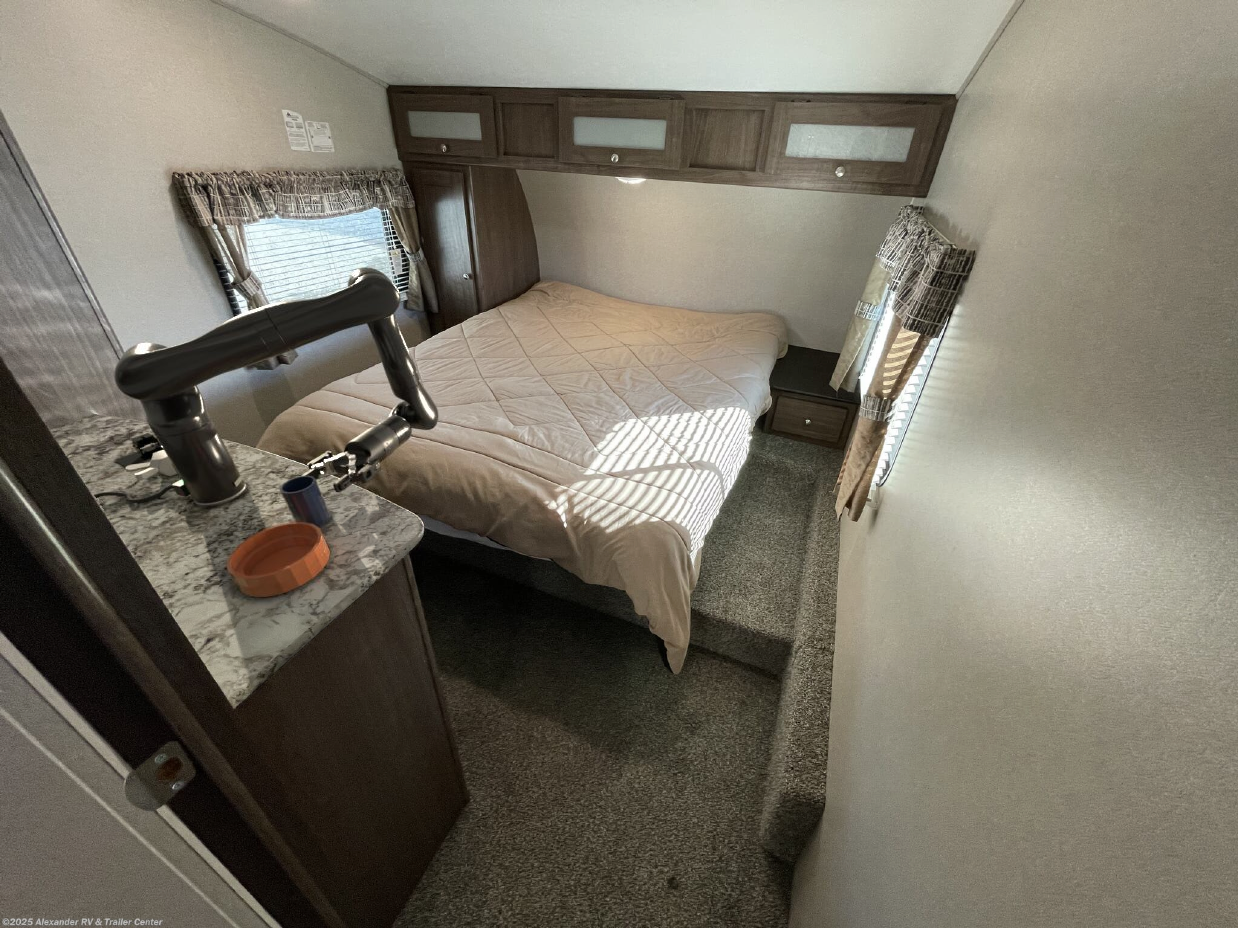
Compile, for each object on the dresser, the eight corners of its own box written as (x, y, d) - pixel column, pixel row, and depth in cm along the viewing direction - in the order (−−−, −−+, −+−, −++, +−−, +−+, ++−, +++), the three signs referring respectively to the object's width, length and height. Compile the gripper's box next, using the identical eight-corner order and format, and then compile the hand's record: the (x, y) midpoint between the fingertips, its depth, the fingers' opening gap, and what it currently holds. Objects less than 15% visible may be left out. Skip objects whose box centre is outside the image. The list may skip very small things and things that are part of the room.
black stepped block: (128, 468, 117) (116, 452, 115) (115, 461, 120) (103, 444, 118) (186, 445, 126) (177, 429, 124) (173, 438, 129) (163, 423, 127)
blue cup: (290, 527, 97) (272, 490, 92) (313, 509, 102) (297, 473, 97) (314, 532, 96) (297, 495, 91) (337, 514, 101) (322, 477, 96)
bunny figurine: (215, 446, 117) (134, 469, 106) (222, 465, 119) (144, 490, 108) (197, 436, 121) (118, 458, 110) (204, 455, 124) (127, 478, 112)
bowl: (219, 589, 83) (205, 568, 81) (288, 536, 95) (277, 516, 92) (285, 606, 80) (273, 585, 77) (348, 549, 91) (339, 529, 89)
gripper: (342, 428, 112) (283, 465, 98) (395, 436, 108) (341, 475, 95) (352, 456, 116) (297, 495, 102) (403, 464, 112) (353, 506, 99)
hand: (318, 485), depth 99 cm, fingers open, 8 cm apart
